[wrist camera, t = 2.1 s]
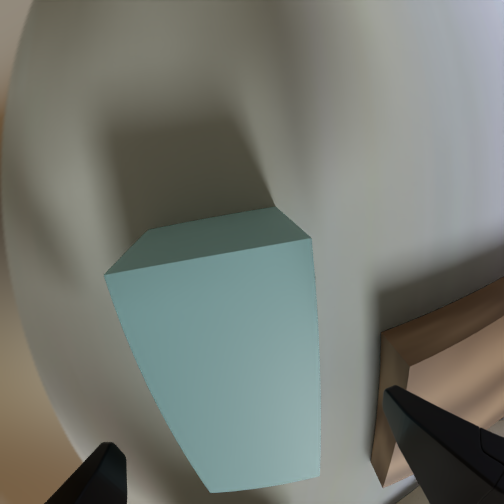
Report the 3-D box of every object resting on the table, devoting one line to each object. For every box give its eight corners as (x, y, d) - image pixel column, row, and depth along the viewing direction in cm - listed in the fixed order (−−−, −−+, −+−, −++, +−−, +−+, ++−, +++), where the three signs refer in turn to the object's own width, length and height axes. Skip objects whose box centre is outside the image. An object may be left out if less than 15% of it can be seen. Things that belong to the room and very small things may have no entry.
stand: (493, 394, 18) (510, 411, 15) (370, 461, 18) (382, 488, 15) (529, 261, 14) (557, 275, 11) (381, 332, 14) (409, 366, 11)
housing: (297, 405, 15) (319, 476, 10) (209, 419, 15) (210, 493, 10) (274, 205, 11) (311, 238, 7) (149, 228, 11) (103, 275, 7)
